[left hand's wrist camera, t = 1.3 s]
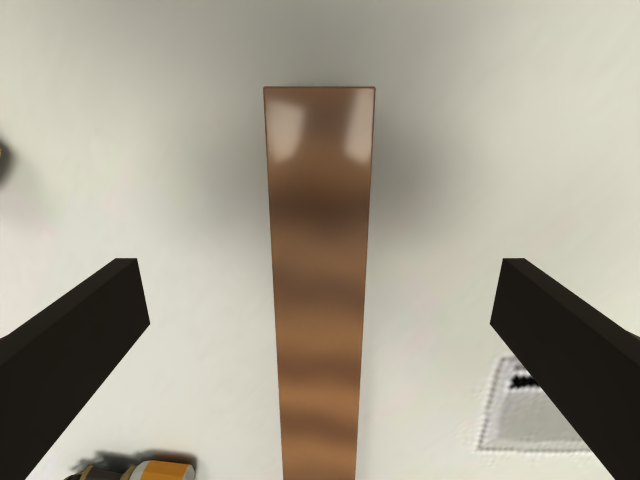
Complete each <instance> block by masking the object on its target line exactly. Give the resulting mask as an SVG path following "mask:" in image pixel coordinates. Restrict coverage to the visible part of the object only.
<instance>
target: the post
mask: <svg viewBox="0 0 640 480" xmlns="http://www.w3.org/2000/svg"><path fill="white" fill-rule="evenodd" d="M375 90H376V88H375V87H276V86H265V87H264V88H263V95H264V114H265V133H266V153H267V172H268V191H269V211H270V230H271V249H272V269H273V288H274V307H275V327H276V346H277V365H278V385H279V404H280V423H281V443H282V462H283V480H355V471H356V452H357V433H358V414H359V395H360V376H361V357H362V338H363V319H364V300H365V281H366V262H367V243H368V223H369V204H370V185H371V166H372V147H373V128H374V109H375Z"/></svg>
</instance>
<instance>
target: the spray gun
mask: <svg viewBox="0 0 640 480" xmlns="http://www.w3.org/2000/svg"><path fill="white" fill-rule="evenodd" d="M194 478H195V471H194V469H193V467H192V465H189V464H181V463H172V462H164V461H155V460H150V461H144V462H142V463H141V464H140V465H138V466H130V467H129V469H128V470H127V471H126V472H125V473H124V474H123V475H122V474H121V473H118V472H113V471H108V470H103V469H98V468H94V466H93V465H89V466H88V467H87V468H86V469H85V471H83V472H80V473H77V474H74V475H71V476H69V477H67V478H65V479H64V480H194Z"/></svg>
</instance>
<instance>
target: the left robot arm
mask: <svg viewBox="0 0 640 480" xmlns="http://www.w3.org/2000/svg"><path fill="white" fill-rule="evenodd" d="M149 325H150V320H149V315H148V310H147V305H146V301H145V296H144V291H143V286H142V281H141V276H140V271H139V266H138V261H137V258H115V259H114V260H113V261H111V262H110V263H108V264H107V265H106V266H104V267H103V268H101V269H100V270H98V271H97V272H96V273H94V274H93V275H91V276H90V277H89V278H87V279H86V280H84V281H83V282H82V283H80V284H79V285H77V286H76V287H75V288H73V289H72V290H70V291H69V292H68V293H66V294H65V295H63V296H62V297H61V298H59V299H58V300H56V301H55V302H54V303H52V304H51V305H49V306H48V307H47V308H45V309H44V310H42V311H41V312H39V313H38V314H37V315H35V316H34V317H32V318H31V319H30V320H28V321H27V322H25V323H24V324H23V325H21V326H20V327H18V328H17V329H16V330H14V331H13V332H11V333H10V334H9V335H7V336H5V337H3V338H0V480H25V479H26V478H27V476H28V475H29V474H30V473H31V471H32V470H33V469H34V468H35V466H36V465H37V464H38V463H39V461H40V460H41V459H42V458H43V457H44V455H45V454H46V453H47V452H48V450H49V449H50V448H51V447H52V445H53V444H54V443H55V442H56V440H57V439H58V438H59V437H60V435H61V434H62V433H63V432H64V430H65V429H66V428H67V427H68V425H69V424H70V423H71V422H72V420H73V419H74V418H75V417H76V415H77V414H78V413H79V412H80V411H81V409H82V408H83V407H84V406H85V404H86V403H87V402H88V401H89V399H90V398H91V397H92V396H93V394H94V393H95V392H96V391H97V389H98V388H99V387H100V386H101V384H102V383H103V382H104V381H105V379H106V378H107V377H108V376H109V374H110V373H111V372H112V371H113V370H114V368H115V367H116V366H117V365H118V363H119V362H120V361H121V360H122V358H123V357H124V356H125V355H126V353H127V352H128V351H129V350H130V348H131V347H132V346H133V345H134V343H135V342H136V341H137V340H138V338H139V337H140V336H141V335H142V333H143V332H144V331H145V330H146V328H147V327H148V326H149ZM490 325H491V326H492V327H493V328H494V330H495V331H496V332H497V333H498V335H499V336H500V337H501V338H502V340H503V341H504V342H505V343H506V345H507V346H508V347H509V348H510V350H511V351H512V352H513V353H514V355H515V356H516V357H517V358H518V360H519V361H520V362H521V363H522V365H523V366H524V367H525V368H526V370H527V371H528V372H529V373H530V374H531V376H532V377H533V378H534V379H535V381H536V382H537V383H538V384H539V386H540V387H541V388H542V389H543V391H544V392H545V393H546V394H547V396H548V397H549V398H550V399H551V401H552V402H553V403H554V404H555V406H556V407H557V408H558V409H559V411H560V412H561V413H562V414H563V415H564V417H565V418H566V419H567V420H568V422H569V423H570V424H571V425H572V427H573V428H574V429H575V430H576V432H577V433H578V434H579V435H580V437H581V438H582V439H583V440H584V442H585V443H586V444H587V445H588V447H589V448H590V449H591V450H592V452H593V453H594V454H595V455H596V457H597V458H598V459H599V460H600V461H601V463H602V464H603V465H604V466H605V468H606V469H607V470H608V471H609V473H610V474H611V475H612V476H613V478H614V479H615V480H640V337H639V336H636V335H634V334H632V333H630V332H628V331H626V330H624V329H623V328H622V327H620V326H619V325H617V324H616V323H615V322H613V321H612V320H610V319H609V318H608V317H606V316H605V315H603V314H602V313H601V312H599V311H598V310H596V309H595V308H593V307H592V306H591V305H589V304H588V303H586V302H585V301H584V300H582V299H581V298H579V297H578V296H577V295H575V294H574V293H572V292H571V291H570V290H568V289H567V288H565V287H564V286H563V285H561V284H560V283H558V282H557V281H556V280H554V279H553V278H551V277H550V276H549V275H547V274H546V273H544V272H543V271H542V270H540V269H539V268H537V267H536V266H534V265H533V264H532V263H530V262H529V261H527V260H526V259H525V258H503V261H502V266H501V271H500V276H499V281H498V286H497V291H496V296H495V300H494V305H493V310H492V315H491V320H490Z"/></svg>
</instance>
